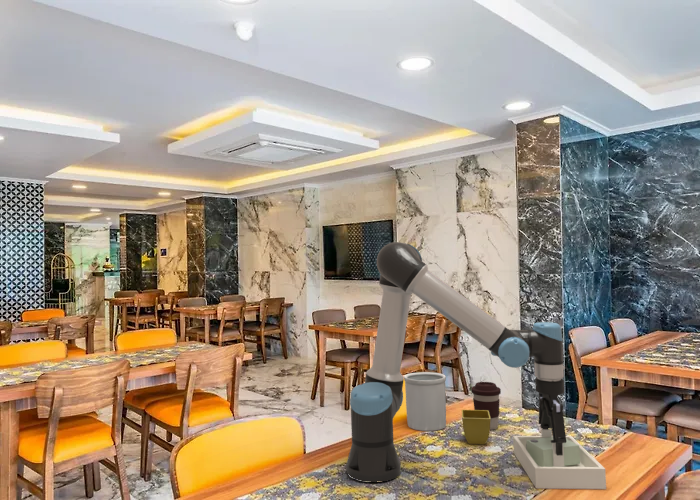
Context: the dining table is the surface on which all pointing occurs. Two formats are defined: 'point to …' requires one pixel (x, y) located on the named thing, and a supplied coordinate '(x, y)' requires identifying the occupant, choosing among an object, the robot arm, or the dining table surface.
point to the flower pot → (476, 426)
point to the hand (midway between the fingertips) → (552, 459)
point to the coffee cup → (487, 400)
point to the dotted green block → (543, 452)
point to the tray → (561, 469)
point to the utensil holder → (425, 401)
